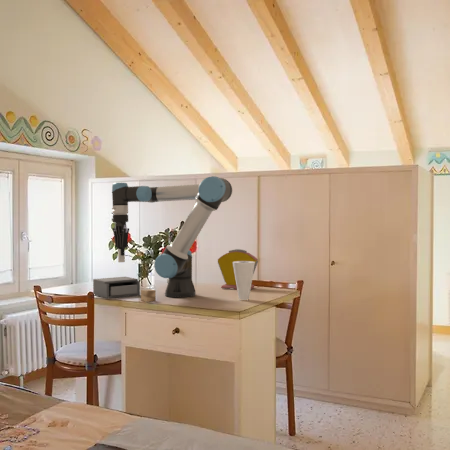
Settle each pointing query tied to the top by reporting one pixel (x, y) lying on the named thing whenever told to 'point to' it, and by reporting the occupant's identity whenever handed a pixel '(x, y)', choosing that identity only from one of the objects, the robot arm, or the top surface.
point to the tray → (123, 290)
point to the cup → (243, 277)
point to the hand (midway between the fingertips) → (121, 262)
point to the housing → (104, 284)
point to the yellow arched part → (227, 265)
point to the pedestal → (148, 295)
